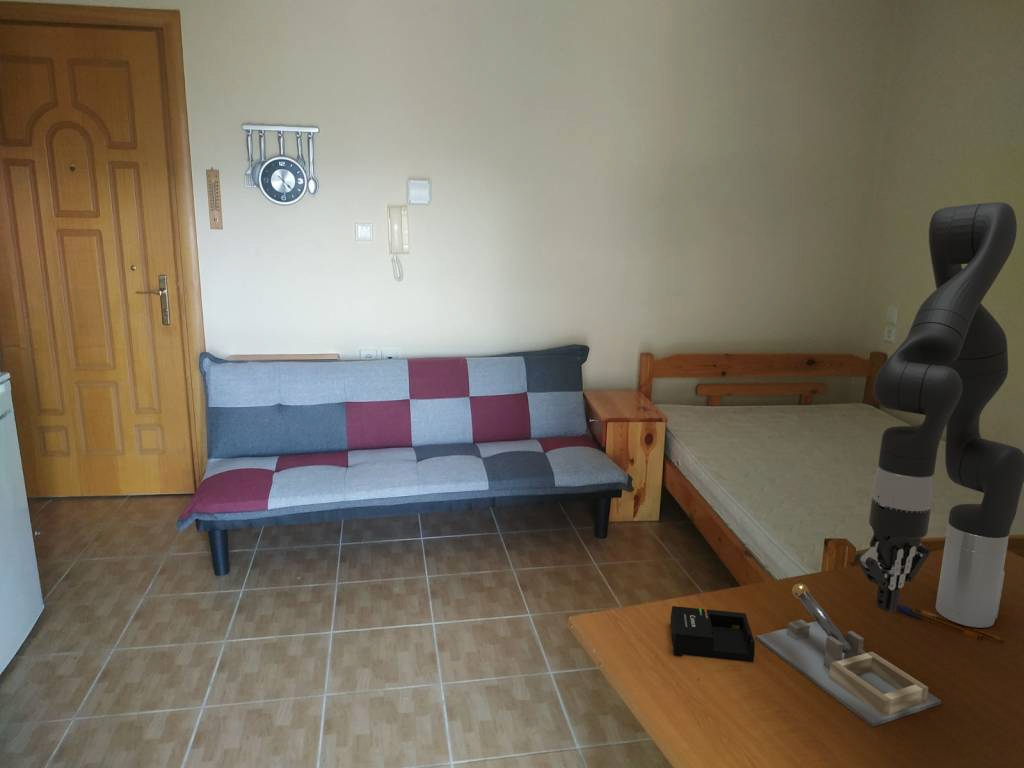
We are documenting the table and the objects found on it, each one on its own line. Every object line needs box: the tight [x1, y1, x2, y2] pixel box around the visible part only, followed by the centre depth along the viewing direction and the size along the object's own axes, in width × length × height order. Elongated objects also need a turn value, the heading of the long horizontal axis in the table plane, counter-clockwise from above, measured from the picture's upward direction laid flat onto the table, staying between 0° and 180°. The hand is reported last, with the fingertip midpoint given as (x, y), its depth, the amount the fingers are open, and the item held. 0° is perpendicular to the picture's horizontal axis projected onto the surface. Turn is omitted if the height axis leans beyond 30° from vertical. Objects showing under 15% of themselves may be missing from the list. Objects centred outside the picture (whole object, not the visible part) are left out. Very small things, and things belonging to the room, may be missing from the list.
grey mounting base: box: [755, 619, 942, 728], centre depth 112 cm, size 14×24×6 cm, turn 22°
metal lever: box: [791, 583, 851, 653], centre depth 116 cm, size 3×13×3 cm, turn 22°
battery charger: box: [670, 605, 756, 663], centre depth 119 cm, size 13×10×4 cm
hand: (886, 608), depth 104 cm, fingers closed
